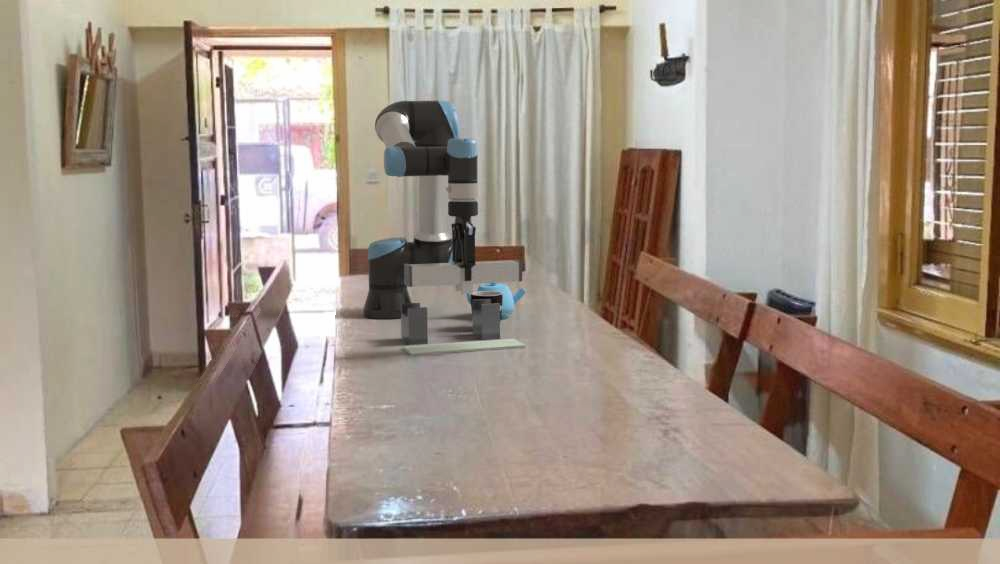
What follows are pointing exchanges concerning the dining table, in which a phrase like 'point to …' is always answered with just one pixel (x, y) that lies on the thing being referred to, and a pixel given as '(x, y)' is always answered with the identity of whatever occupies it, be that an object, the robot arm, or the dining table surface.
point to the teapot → (507, 296)
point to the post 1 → (414, 324)
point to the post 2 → (486, 319)
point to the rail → (452, 273)
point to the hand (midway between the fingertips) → (463, 291)
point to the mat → (463, 347)
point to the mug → (488, 297)
